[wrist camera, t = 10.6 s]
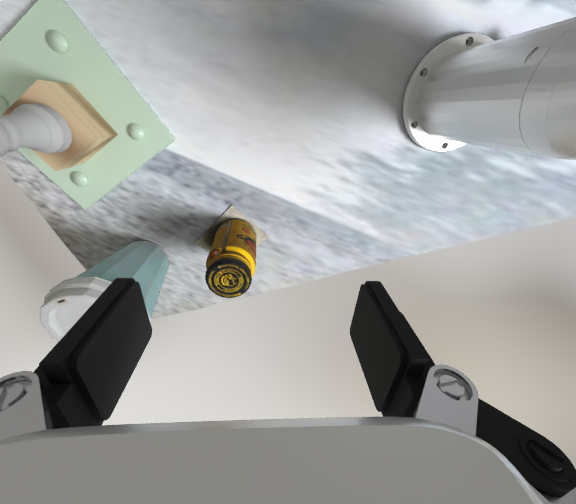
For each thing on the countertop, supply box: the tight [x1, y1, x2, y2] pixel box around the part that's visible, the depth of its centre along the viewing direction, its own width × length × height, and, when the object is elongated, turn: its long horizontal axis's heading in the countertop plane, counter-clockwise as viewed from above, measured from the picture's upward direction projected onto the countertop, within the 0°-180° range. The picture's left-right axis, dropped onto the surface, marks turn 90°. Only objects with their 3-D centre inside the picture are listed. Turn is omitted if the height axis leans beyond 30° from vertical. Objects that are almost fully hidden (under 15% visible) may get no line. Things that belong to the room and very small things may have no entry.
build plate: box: [0, 0, 176, 210], centre depth 30 cm, size 16×16×1 cm
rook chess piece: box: [0, 103, 72, 157], centre depth 22 cm, size 4×4×8 cm
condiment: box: [196, 205, 268, 298], centre depth 35 cm, size 7×8×12 cm
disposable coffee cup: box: [40, 241, 169, 341], centre depth 33 cm, size 11×11×15 cm
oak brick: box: [1, 80, 118, 172], centre depth 28 cm, size 6×6×5 cm
